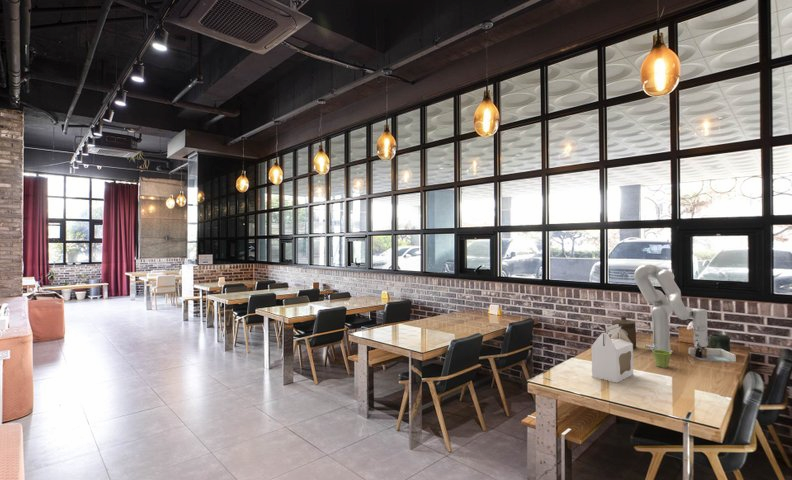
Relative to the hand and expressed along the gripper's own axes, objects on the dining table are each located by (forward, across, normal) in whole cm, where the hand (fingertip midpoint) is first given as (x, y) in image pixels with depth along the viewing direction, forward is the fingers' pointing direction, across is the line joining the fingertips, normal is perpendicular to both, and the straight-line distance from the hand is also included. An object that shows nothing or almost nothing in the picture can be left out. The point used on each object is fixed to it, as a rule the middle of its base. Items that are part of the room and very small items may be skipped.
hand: (700, 356), depth 258 cm
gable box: (+1, -80, +12) cm, 81 cm away
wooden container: (+1, -10, +43) cm, 44 cm away
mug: (+1, +22, -1) cm, 22 cm away
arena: (+1, +3, -5) cm, 6 cm away
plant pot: (+1, -39, +5) cm, 40 cm away
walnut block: (0, 0, 0) cm, 0 cm away
